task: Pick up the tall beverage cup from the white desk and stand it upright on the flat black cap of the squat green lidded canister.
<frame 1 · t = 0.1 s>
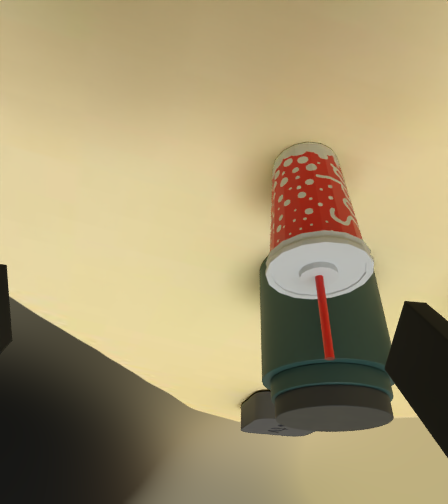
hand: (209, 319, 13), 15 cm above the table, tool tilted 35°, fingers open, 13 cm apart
streaming box: (280, 400, 78), on the table
beverage cup: (304, 166, 27), on the table
green lidded canister: (314, 271, 38), on the table
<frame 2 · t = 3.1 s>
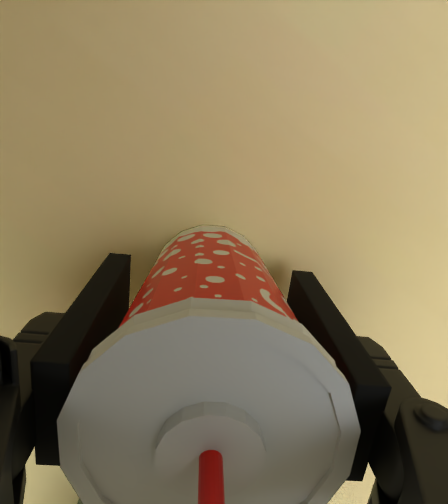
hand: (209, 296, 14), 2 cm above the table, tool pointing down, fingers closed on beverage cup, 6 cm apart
beverage cup: (209, 274, 16), on the table, touching gripper
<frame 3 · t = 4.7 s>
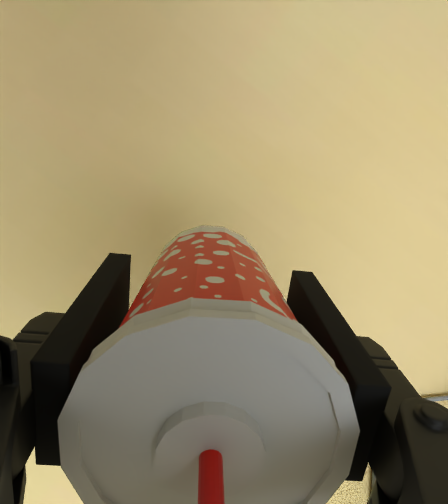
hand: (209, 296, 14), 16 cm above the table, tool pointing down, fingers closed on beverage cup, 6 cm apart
beverage cup: (209, 275, 16), point 14 cm above the table, touching gripper
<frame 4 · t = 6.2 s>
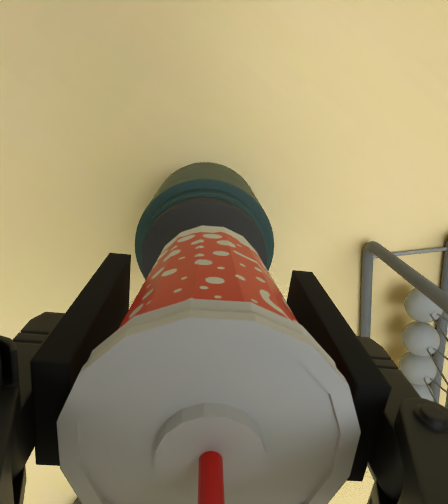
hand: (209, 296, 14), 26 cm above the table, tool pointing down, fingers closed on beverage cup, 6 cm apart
newton's cradle: (399, 345, 47), on the table
beverage cup: (209, 275, 16), point 24 cm above the table, touching gripper
green lidded canister: (205, 215, 40), on the table
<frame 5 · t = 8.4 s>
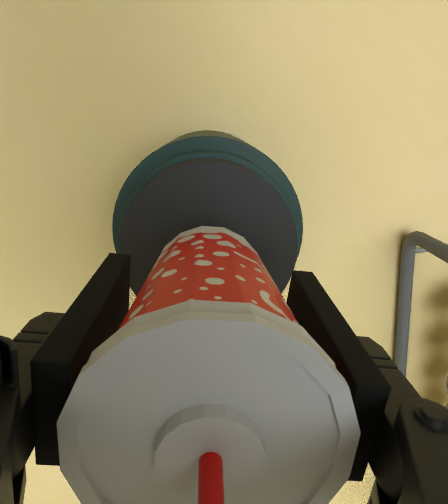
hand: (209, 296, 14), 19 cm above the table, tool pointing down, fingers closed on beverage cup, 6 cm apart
newton's cradle: (441, 359, 39), on the table
beverage cup: (209, 275, 16), point 17 cm above the table, touching gripper
green lidded canister: (208, 198, 32), on the table
when the fingers open (16 cm above the table, at t = 9.7 s): beverage cup stays where it is, resting on green lidded canister.
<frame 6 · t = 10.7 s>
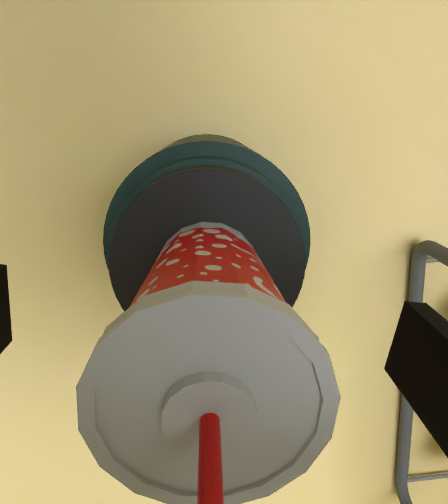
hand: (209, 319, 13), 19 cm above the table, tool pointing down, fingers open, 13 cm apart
beverage cup: (208, 268, 17), point 14 cm above the table, touching green lidded canister
green lidded canister: (207, 205, 30), on the table, touching beverage cup
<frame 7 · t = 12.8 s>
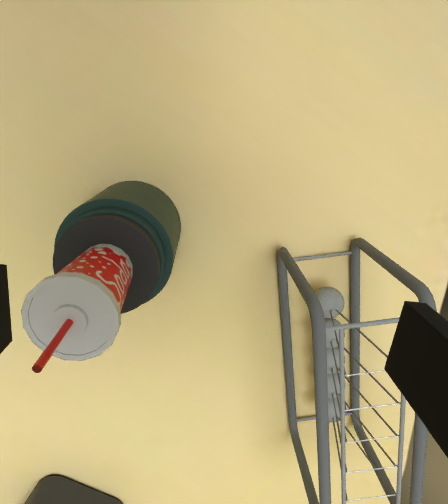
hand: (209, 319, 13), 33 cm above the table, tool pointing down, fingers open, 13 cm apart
newton's cradle: (319, 340, 52), on the table
beverage cup: (106, 268, 33), point 14 cm above the table, touching green lidded canister
green lidded canister: (135, 226, 46), on the table, touching beverage cup
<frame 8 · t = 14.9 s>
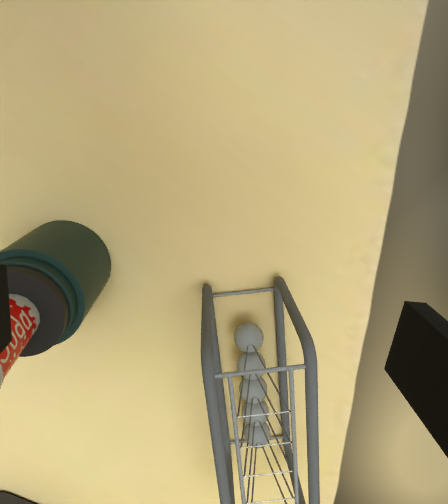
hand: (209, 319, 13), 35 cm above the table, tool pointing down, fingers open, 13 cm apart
newton's cradle: (249, 368, 55), on the table
beverage cup: (15, 315, 35), point 14 cm above the table, touching green lidded canister
green lidded canister: (67, 262, 48), on the table, touching beverage cup
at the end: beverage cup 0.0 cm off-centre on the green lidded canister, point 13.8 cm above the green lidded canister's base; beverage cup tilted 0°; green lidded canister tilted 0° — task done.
